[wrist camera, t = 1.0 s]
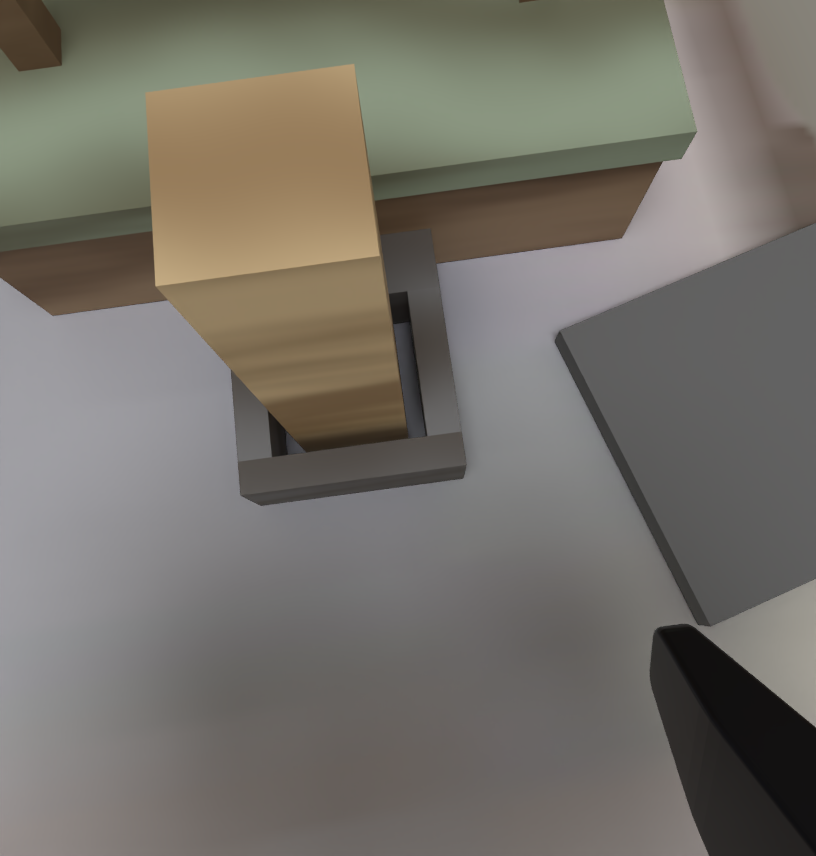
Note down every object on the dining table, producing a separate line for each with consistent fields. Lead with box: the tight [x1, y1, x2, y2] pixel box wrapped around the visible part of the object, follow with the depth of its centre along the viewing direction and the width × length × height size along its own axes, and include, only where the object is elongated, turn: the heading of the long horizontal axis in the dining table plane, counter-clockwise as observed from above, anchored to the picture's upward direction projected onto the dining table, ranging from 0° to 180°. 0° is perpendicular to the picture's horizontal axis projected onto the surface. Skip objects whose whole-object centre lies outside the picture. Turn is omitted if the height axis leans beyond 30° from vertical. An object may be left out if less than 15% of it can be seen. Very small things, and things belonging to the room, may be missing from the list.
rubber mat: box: [555, 223, 816, 626], centre depth 23 cm, size 10×10×1 cm
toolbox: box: [0, 0, 697, 506], centre depth 19 cm, size 18×21×13 cm
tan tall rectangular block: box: [145, 64, 408, 452], centre depth 17 cm, size 3×3×13 cm
